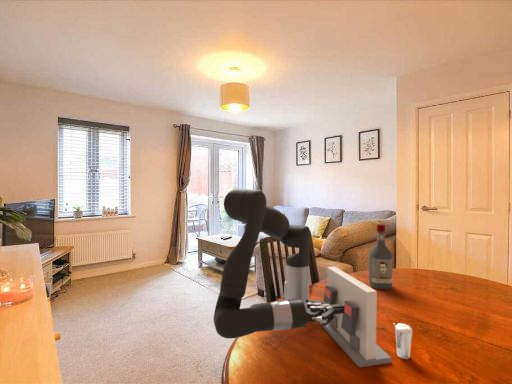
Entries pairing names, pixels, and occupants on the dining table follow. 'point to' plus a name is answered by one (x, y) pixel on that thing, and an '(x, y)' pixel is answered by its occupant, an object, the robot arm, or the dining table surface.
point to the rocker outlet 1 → (329, 295)
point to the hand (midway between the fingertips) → (343, 308)
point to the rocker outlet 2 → (350, 318)
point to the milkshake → (403, 340)
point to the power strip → (364, 340)
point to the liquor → (380, 262)
